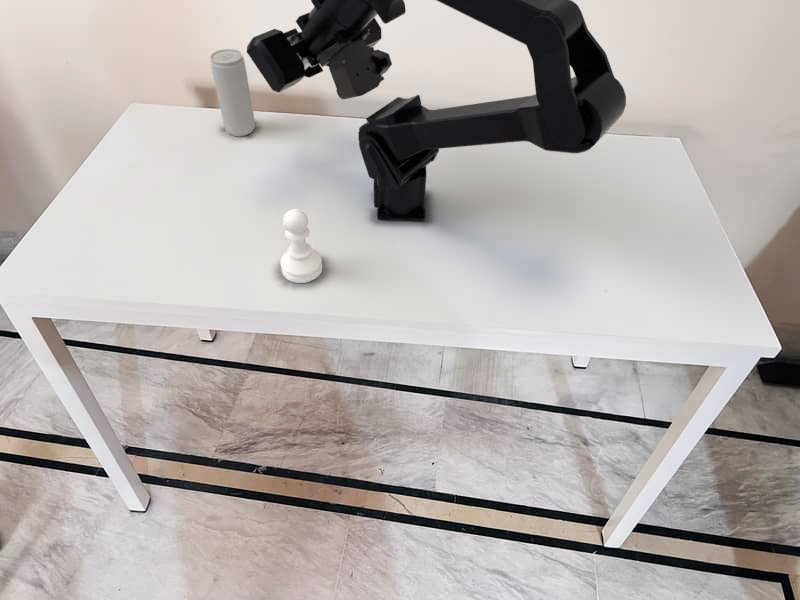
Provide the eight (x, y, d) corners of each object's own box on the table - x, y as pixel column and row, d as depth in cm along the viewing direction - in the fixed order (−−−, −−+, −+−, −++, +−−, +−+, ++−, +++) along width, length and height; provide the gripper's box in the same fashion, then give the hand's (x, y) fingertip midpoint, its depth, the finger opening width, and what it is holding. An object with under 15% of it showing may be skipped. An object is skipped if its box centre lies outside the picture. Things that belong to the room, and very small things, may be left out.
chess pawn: (329, 273, 75) (324, 216, 68) (293, 289, 73) (283, 232, 66) (311, 250, 77) (304, 193, 71) (275, 265, 76) (264, 207, 69)
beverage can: (218, 131, 96) (202, 57, 87) (240, 118, 99) (226, 45, 90) (241, 141, 94) (226, 66, 86) (262, 127, 97) (250, 54, 88)
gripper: (333, 98, 65) (275, 155, 78) (434, 44, 76) (369, 102, 88) (271, 5, 63) (222, 78, 76) (384, -37, 74) (325, 33, 86)
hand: (290, 75), depth 82 cm, fingers closed
